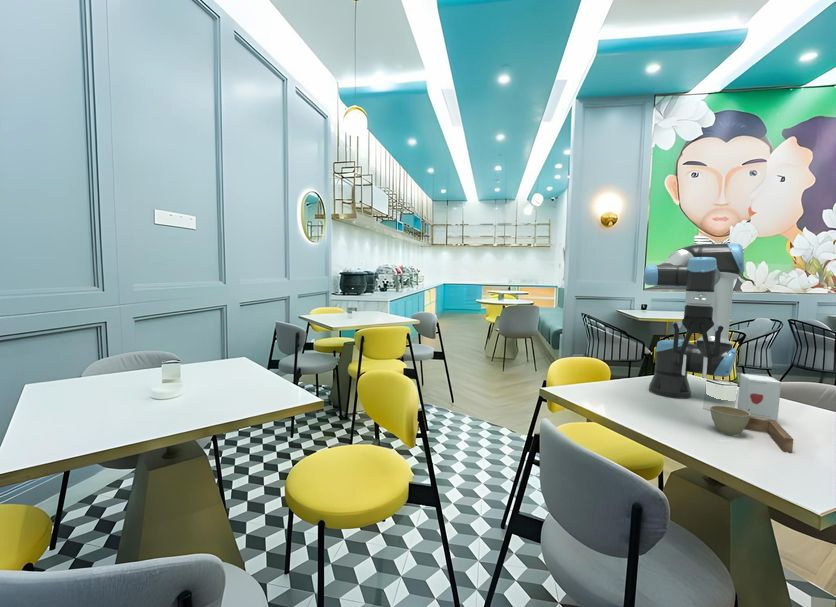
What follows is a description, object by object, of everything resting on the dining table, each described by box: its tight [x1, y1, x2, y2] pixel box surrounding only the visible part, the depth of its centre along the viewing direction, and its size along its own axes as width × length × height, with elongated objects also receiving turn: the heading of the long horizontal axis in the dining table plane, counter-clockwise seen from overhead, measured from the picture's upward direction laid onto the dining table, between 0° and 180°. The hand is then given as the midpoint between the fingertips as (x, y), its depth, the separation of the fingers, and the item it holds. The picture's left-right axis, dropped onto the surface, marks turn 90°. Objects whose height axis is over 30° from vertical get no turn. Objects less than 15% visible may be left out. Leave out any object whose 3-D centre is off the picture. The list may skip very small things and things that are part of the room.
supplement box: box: [736, 373, 782, 422], centre depth 137 cm, size 9×9×15 cm
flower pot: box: [709, 405, 751, 436], centre depth 123 cm, size 10×10×7 cm
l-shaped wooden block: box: [744, 416, 794, 454], centre depth 120 cm, size 12×18×4 cm, turn 149°
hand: (693, 375), depth 128 cm, fingers open, 5 cm apart
